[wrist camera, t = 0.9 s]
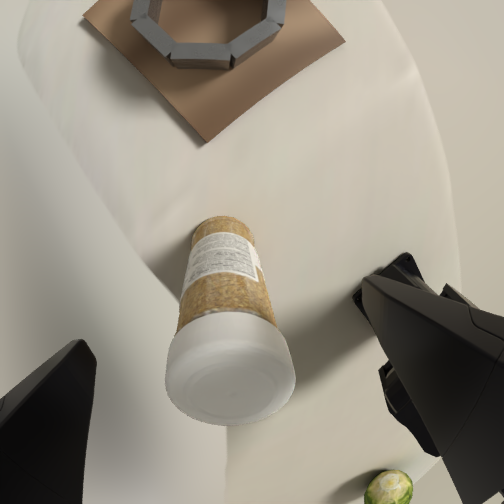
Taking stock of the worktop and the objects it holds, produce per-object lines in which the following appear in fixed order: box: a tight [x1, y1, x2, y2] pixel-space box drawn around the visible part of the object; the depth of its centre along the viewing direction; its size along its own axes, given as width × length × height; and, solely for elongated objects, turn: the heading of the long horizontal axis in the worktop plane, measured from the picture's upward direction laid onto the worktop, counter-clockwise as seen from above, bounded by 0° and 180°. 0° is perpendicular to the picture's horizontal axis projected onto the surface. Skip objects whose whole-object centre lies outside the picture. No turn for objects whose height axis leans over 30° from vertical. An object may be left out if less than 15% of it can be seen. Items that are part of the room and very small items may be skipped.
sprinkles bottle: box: [165, 216, 296, 426], centre depth 15 cm, size 5×5×14 cm
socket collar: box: [130, 0, 286, 71], centre depth 13 cm, size 9×9×3 cm
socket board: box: [82, 0, 346, 143], centre depth 14 cm, size 14×12×1 cm
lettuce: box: [364, 470, 413, 504], centre depth 42 cm, size 12×21×11 cm, turn 20°
